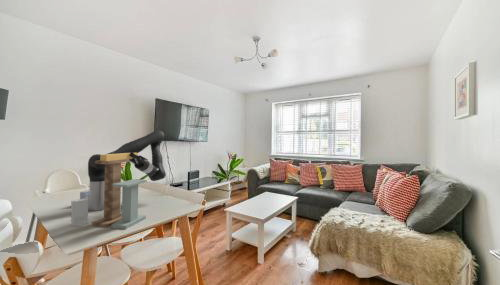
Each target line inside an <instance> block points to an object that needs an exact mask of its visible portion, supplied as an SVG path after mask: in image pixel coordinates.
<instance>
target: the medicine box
mask: <svg viewBox="0 0 500 285" xmlns="http://www.w3.org/2000/svg"><path fill="white" fill-rule="evenodd" d="M89 190H90V189H89ZM89 190H85V191H80V192H79V199H87V200H88V193H89Z"/></svg>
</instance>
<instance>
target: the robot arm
mask: <svg viewBox="0 0 500 285" xmlns="http://www.w3.org/2000/svg"><path fill="white" fill-rule="evenodd" d="M164 139H165V133H164V132H163V131H161V130H154V131H152V132H150V133H148V134H146V135H144V136H142V137H139V138H136V139H134V140H132V141H129V142H126V143H124V144H122V145H121V146H120V147H118V148H117V149H115V150H113V151H111V152H108V153H107V154H120V153H130V156H131V157H132V159H129V162H126V163H132V164H133V165H134V168H135V169H137V170H139V172H142V173H144V174H146V175H147V176H148V178H149V180H150V181H152V182H156V181H160V180H163V179H165V178H166V176H167V174H166V171H165V168H164V165H163V164H164V163H163V155H162V153H161V144H162V142H163V141H164ZM149 146H150V151H151V162H150V161H149V160H148V159H147V158H146V157H145V156H143V155H139V153H140V152H142V151H143V150H145V149H146V148H147V147H149ZM134 153H138V155H135V154H134ZM100 155H102V154H93V155H91V156H90V157H89V159H88V163H87V172H88V173H87V175H88V178H89V193H88V211H93V212H94V211H101V210H104V187H105V164H95V161H98V160H100Z"/></svg>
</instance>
